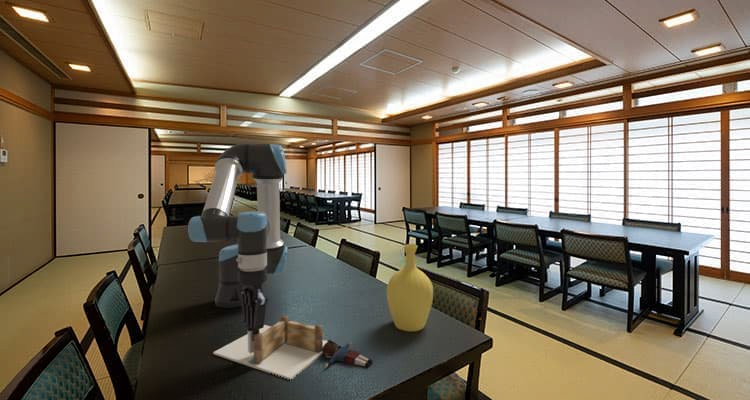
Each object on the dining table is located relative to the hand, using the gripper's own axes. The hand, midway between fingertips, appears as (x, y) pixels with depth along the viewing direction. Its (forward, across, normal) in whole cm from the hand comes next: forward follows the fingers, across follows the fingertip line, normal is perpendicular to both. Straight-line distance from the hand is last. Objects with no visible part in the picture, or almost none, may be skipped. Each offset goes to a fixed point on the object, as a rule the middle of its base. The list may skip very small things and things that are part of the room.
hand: (253, 350), depth 92 cm
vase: (+2, +16, +48) cm, 51 cm away
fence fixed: (+1, +6, +13) cm, 14 cm away
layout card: (+2, 0, +7) cm, 7 cm away
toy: (+3, +18, +18) cm, 26 cm away
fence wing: (+1, +1, +5) cm, 5 cm away
